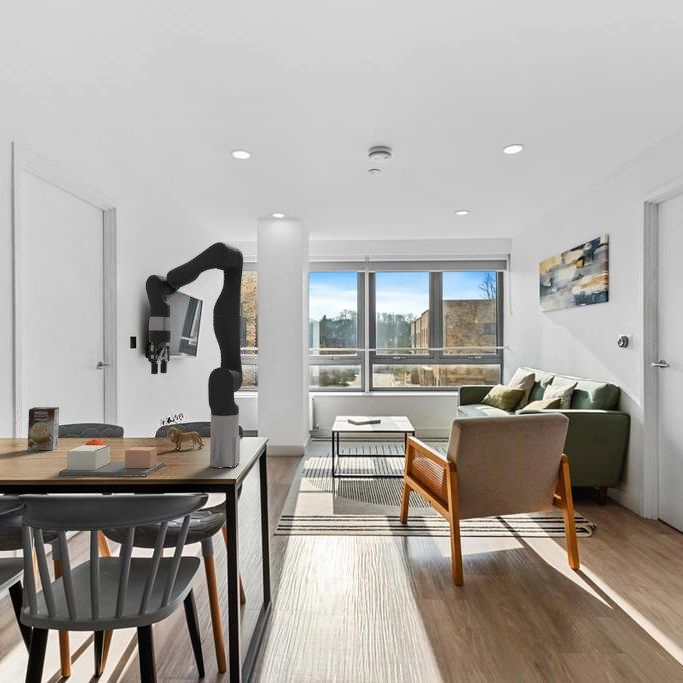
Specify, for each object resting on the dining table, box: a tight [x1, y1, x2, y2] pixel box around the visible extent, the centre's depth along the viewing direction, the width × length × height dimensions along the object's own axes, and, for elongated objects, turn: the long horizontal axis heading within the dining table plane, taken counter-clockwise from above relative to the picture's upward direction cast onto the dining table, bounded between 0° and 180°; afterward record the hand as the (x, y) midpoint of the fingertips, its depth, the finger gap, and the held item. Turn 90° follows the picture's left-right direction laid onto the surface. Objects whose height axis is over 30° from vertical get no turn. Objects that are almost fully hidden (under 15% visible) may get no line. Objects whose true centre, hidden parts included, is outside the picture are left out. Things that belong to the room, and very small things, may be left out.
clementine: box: [84, 438, 106, 446], centre depth 170 cm, size 8×7×7 cm
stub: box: [124, 446, 158, 468], centre depth 153 cm, size 8×5×6 cm, turn 90°
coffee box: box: [26, 406, 60, 452], centre depth 185 cm, size 9×6×16 cm
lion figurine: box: [166, 426, 205, 451], centre depth 188 cm, size 15×5×9 cm, turn 124°
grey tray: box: [58, 444, 165, 477], centre depth 153 cm, size 27×14×7 cm, turn 90°
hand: (159, 373), depth 176 cm, fingers open, 8 cm apart
